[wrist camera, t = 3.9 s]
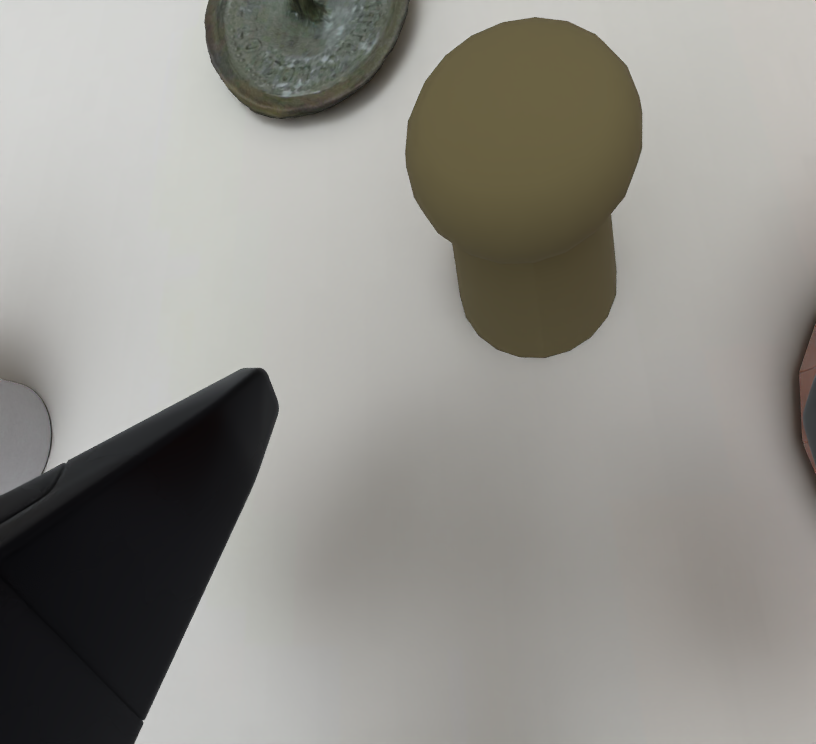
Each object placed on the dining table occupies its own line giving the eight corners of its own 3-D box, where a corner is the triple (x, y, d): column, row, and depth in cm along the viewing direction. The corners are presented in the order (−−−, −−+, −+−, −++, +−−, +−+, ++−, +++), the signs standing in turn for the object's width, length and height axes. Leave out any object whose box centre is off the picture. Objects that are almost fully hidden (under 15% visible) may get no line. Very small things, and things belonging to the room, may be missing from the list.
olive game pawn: (477, 205, 22) (404, -31, 12) (630, 219, 20) (706, -46, 10) (445, 343, 21) (337, 224, 11) (601, 371, 20) (650, 259, 9)
